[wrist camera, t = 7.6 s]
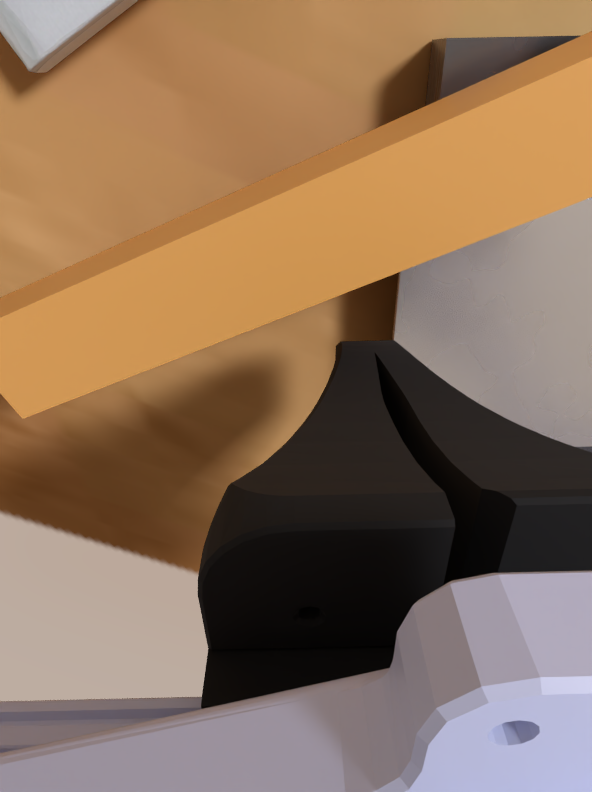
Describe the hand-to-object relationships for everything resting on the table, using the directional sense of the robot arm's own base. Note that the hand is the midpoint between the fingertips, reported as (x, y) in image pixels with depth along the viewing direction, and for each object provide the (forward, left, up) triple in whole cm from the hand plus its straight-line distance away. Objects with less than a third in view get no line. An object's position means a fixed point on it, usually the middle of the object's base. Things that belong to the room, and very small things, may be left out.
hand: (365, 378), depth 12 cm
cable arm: (+4, +1, 0) cm, 4 cm away
